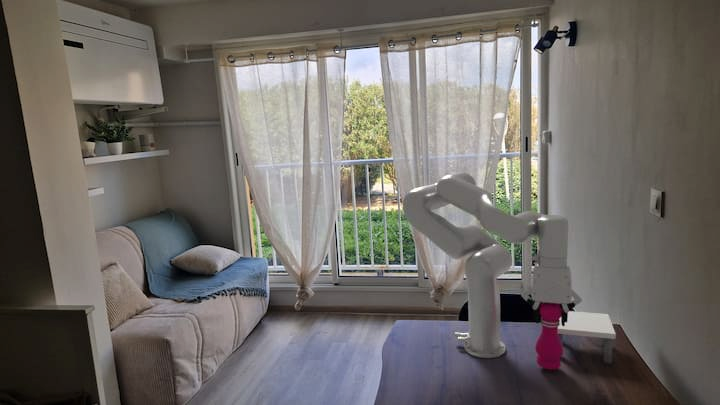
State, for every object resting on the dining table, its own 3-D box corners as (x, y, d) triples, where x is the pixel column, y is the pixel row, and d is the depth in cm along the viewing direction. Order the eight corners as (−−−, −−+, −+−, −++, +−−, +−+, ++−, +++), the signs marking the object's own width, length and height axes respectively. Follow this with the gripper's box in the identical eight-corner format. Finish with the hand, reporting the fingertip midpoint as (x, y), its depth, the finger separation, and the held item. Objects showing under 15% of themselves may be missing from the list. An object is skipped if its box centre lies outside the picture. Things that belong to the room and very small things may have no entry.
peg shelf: (553, 358, 136) (554, 328, 135) (551, 337, 149) (552, 309, 148) (614, 365, 131) (615, 334, 129) (607, 342, 144) (608, 314, 142)
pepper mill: (565, 371, 126) (567, 302, 123) (537, 369, 128) (539, 301, 124) (559, 358, 133) (561, 292, 130) (533, 356, 135) (534, 291, 131)
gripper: (518, 262, 124) (516, 325, 128) (588, 267, 118) (585, 332, 122) (518, 255, 131) (517, 314, 135) (585, 258, 125) (582, 320, 129)
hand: (550, 322), depth 128 cm, fingers closed on pepper mill, 6 cm apart
